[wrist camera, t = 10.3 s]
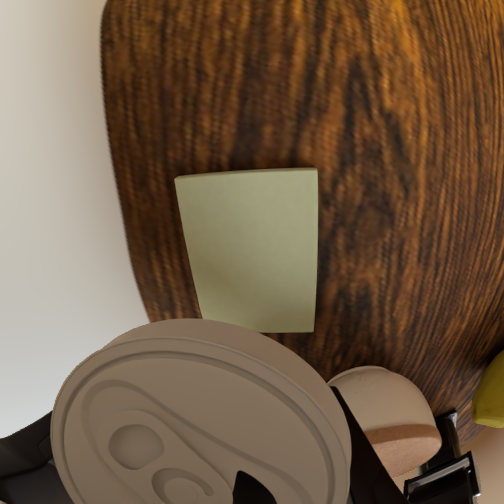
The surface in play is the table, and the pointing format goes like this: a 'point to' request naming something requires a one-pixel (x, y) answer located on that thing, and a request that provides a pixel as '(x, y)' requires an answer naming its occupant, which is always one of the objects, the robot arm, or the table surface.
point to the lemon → (490, 395)
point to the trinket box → (390, 416)
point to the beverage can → (199, 421)
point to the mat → (253, 246)
